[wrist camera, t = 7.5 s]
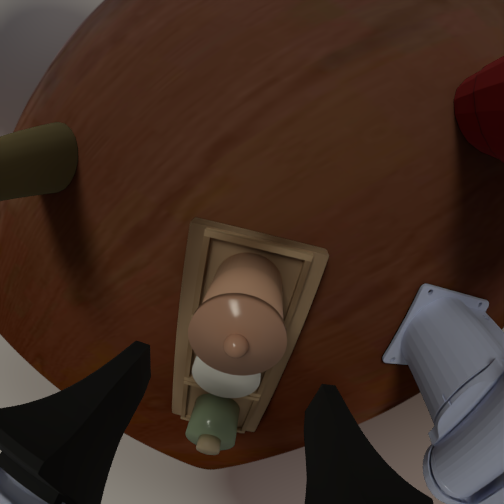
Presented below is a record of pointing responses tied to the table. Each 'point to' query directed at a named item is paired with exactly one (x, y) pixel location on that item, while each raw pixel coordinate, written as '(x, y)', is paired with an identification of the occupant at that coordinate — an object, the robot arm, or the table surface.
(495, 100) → the plastic cup
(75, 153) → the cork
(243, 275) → the spice jar
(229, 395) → the white rounded disc
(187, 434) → the green jar
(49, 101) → the table surface
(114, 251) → the table surface
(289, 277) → the tray
